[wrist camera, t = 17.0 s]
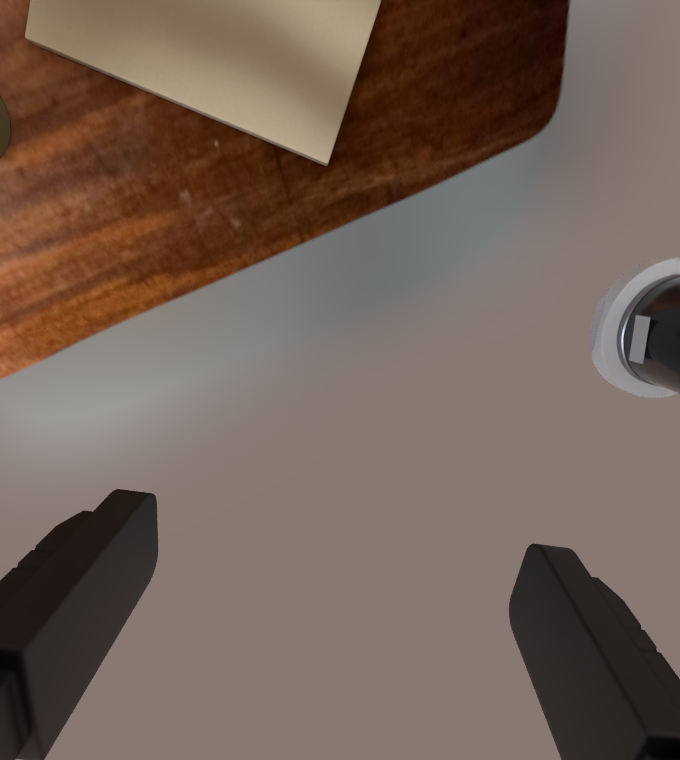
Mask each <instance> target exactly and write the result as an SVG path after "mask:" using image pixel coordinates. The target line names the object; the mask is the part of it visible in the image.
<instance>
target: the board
mask: <svg viewBox="0 0 680 760" xmlns="http://www.w3.org/2000/svg"><path fill="white" fill-rule="evenodd" d="M380 4H381V0H31V1H30V7H29V13H28V20H27V26H26V33H25V38H26V39H27V40H28V41H30V42H31V43H32V44H34V45H36V46H39V47H41V48H44V49H46V50H48V51H51V52H53V53H56V54H58V55H60V56H63V57H65V58H68V59H70V60H72V61H75V62H77V63H80V64H82V65H84V66H87V67H89V68H92V69H94V70H96V71H99V72H101V73H104V74H106V75H108V76H111V77H113V78H116V79H118V80H120V81H123V82H125V83H128V84H130V85H133V86H135V87H137V88H140V89H142V90H145V91H147V92H149V93H152V94H154V95H157V96H159V97H161V98H164V99H166V100H169V101H171V102H173V103H176V104H178V105H181V106H183V107H185V108H188V109H190V110H193V111H195V112H197V113H200V114H202V115H205V116H207V117H209V118H212V119H214V120H217V121H219V122H221V123H224V124H226V125H229V126H231V127H233V128H236V129H238V130H241V131H243V132H245V133H248V134H250V135H253V136H255V137H257V138H260V139H262V140H265V141H267V142H269V143H272V144H274V145H277V146H279V147H281V148H284V149H286V150H289V151H291V152H294V153H296V154H298V155H301V156H303V157H306V158H308V159H310V160H313V161H315V162H318V163H320V164H322V165H325V166H328V163H329V160H330V157H331V154H332V151H333V148H334V145H335V142H336V139H337V136H338V132H339V129H340V126H341V123H342V120H343V117H344V114H345V111H346V108H347V105H348V102H349V99H350V96H351V93H352V89H353V86H354V83H355V80H356V77H357V74H358V71H359V68H360V65H361V62H362V59H363V56H364V53H365V50H366V47H367V43H368V40H369V37H370V34H371V31H372V28H373V25H374V22H375V19H376V16H377V13H378V10H379V7H380Z"/></svg>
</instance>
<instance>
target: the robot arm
mask: <svg viewBox="0 0 680 760" xmlns="http://www.w3.org/2000/svg"><path fill="white" fill-rule="evenodd" d="M617 351H618V355H619V358H620V361H621V363H622V365H623V366H624V368H625V369H626V370H627V372H628V373H629V374H630V375H632V376H633V377H634V378H636V379H638V380H640V381H642V382H645V383H648V384H650V385H655V386H660V387H663V388H665V389H668V390H671V391H674V392H677V393H679V394H680V274H674V275H669V276H666V277H663V278H660V279H658V280H656V281H654V282H653V283H651V284H649V285H648V286H646V287H645V288H644V289H643V290H642V291H640V292H639V293H638V294H637V295H636V296H635V298H634V299H633V300H632V301H631V303H630V304H629V305H628V307H627V309H626V310H625V312H624V314H623V316H622V319H621V321H620V324H619V328H618V332H617ZM157 557H158V531H157V501H156V497H155V495H154V494H152V493H144V492H137V491H129V490H121V489H117V490H114V491H113V492H112V493H110V494H109V495H108V497H107V498H106V499H105V500H104V501H103V502H102V503H101V504H100V505H99V506H98V507H97V508H96V509H95V510H94V511H93V512H91V511H82V512H80V513H78V514H76V515H75V516H73V517H71V518H69V519H68V520H66V521H64V522H62V523H61V524H59V525H57V526H56V527H55V528H54V529H53V530H52V531H51V532H50V533H49V534H48V535H47V536H45V537H44V538H43V539H42V540H41V541H40V542H39V543H38V544H37V545H36V548H35V550H31V551H30V552H29V553H28V554H27V555H26V556H25V557H24V558H23V559H22V560H21V561H20V562H19V563H18V566H17V568H13V569H12V570H11V571H10V572H9V573H8V574H7V575H6V576H5V577H4V578H3V579H1V580H0V760H15V759H23V760H44V759H45V757H46V756H47V754H48V752H49V751H50V749H51V747H52V746H53V744H54V742H55V740H56V739H57V737H58V735H59V733H60V732H61V730H62V729H63V727H64V725H65V724H66V722H67V720H68V718H69V717H70V715H71V714H72V712H73V710H74V709H75V707H76V705H77V703H78V702H79V700H80V698H81V697H82V695H83V693H84V692H85V690H86V688H87V687H88V685H89V683H90V682H91V680H92V678H93V677H94V675H95V673H96V672H97V670H98V668H99V666H100V665H101V663H102V661H103V660H104V658H105V656H106V655H107V653H108V651H109V650H110V648H111V646H112V645H113V643H114V641H115V640H116V638H117V636H118V635H119V633H120V631H121V629H122V628H123V626H124V624H125V623H126V621H127V619H128V618H129V616H130V614H131V613H132V611H133V609H134V608H135V606H136V604H137V602H138V601H139V599H140V597H141V596H142V594H143V592H144V590H145V589H146V587H147V586H148V584H149V582H150V580H151V578H152V575H153V573H154V570H155V567H156V563H157ZM509 617H510V624H511V628H512V631H513V634H514V637H515V639H516V642H517V644H518V647H519V650H520V652H521V655H522V658H523V660H524V663H525V665H526V668H527V670H528V673H529V676H530V678H531V681H532V683H533V686H534V689H535V691H536V694H537V697H538V699H539V702H540V704H541V707H542V710H543V712H544V715H545V717H546V720H547V722H548V725H549V728H550V731H551V733H552V736H553V738H554V741H555V743H556V746H557V749H558V751H559V754H560V757H561V759H562V760H680V679H679V678H678V676H677V675H676V674H675V672H674V671H673V669H672V668H671V667H670V665H669V664H668V662H667V661H666V660H665V658H664V657H663V655H662V654H661V653H659V652H657V650H656V646H655V644H654V643H653V641H652V640H651V639H650V637H649V636H648V635H647V633H646V632H645V630H641V625H640V623H639V622H638V620H637V619H636V618H635V616H634V615H633V613H632V612H631V611H630V609H629V608H628V606H627V605H626V604H625V602H624V601H623V600H622V599H621V598H620V597H619V596H618V595H617V594H616V593H614V592H613V591H612V590H611V589H610V588H609V587H608V586H607V585H605V584H604V583H603V582H602V581H601V580H600V579H599V578H595V577H591V576H590V574H589V573H588V571H587V570H586V568H585V567H584V565H583V564H582V562H581V561H580V559H579V558H578V556H577V555H576V554H575V552H574V551H573V550H571V549H570V548H564V547H556V546H548V545H540V544H531V545H530V546H529V547H528V548H527V551H526V553H525V556H524V559H523V562H522V565H521V568H520V571H519V574H518V577H517V580H516V583H515V586H514V589H513V592H512V595H511V598H510V603H509Z"/></svg>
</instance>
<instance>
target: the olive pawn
mask: <svg viewBox="0 0 680 760" xmlns="http://www.w3.org/2000/svg"><path fill="white" fill-rule="evenodd" d="M9 140H10V118H9V115H8V112H7V109H6V105H5V104H4V102H3V100H2V99H1V97H0V157H1V156H2V155H3V153H4V152H5V151H6V149H7V146H8V143H9Z"/></svg>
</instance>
